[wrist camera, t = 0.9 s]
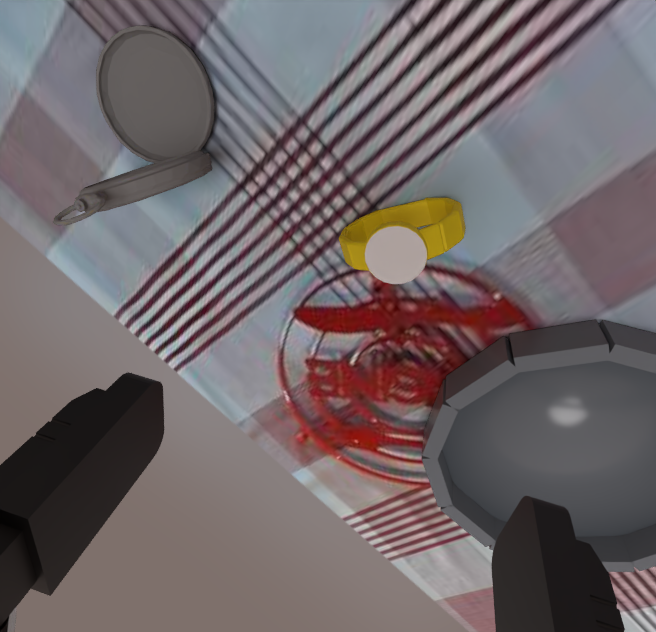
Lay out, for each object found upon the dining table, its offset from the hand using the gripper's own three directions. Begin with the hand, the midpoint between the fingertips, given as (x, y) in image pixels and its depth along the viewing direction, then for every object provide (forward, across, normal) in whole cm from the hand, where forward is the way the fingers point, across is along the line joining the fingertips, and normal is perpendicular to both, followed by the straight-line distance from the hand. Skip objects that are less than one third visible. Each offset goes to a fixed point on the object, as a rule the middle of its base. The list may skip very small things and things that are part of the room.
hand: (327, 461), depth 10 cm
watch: (+18, 0, 0) cm, 18 cm away
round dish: (+18, -14, +12) cm, 26 cm away
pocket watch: (+18, +14, -2) cm, 23 cm away
